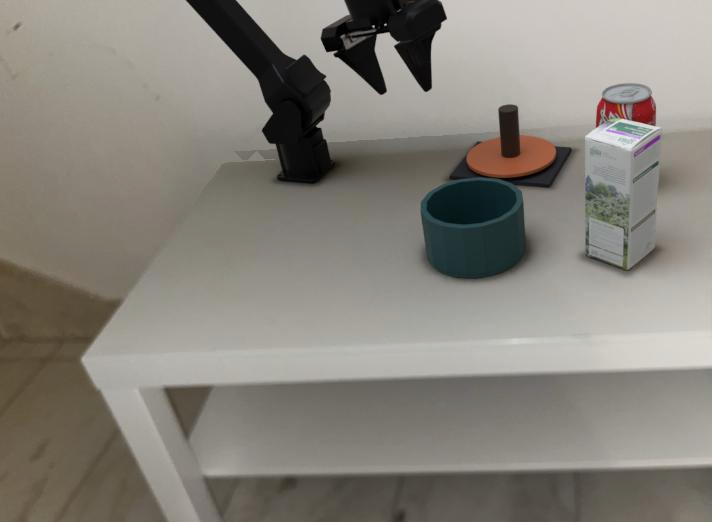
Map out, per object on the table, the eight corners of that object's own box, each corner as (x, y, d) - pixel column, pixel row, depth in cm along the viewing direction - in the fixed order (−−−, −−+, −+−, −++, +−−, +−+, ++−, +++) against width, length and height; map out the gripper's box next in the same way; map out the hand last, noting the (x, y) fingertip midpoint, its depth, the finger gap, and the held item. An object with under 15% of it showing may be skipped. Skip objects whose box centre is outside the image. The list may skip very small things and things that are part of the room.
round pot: (412, 271, 88) (404, 221, 84) (449, 221, 96) (443, 173, 92) (506, 284, 83) (503, 232, 79) (537, 231, 91) (535, 181, 87)
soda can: (584, 188, 98) (584, 97, 91) (614, 166, 102) (617, 77, 94) (632, 202, 94) (636, 107, 87) (662, 179, 98) (669, 86, 90)
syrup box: (656, 248, 85) (665, 124, 76) (626, 273, 82) (631, 147, 73) (613, 233, 89) (616, 113, 80) (582, 257, 86) (582, 134, 77)
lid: (483, 190, 100) (479, 135, 95) (456, 154, 109) (450, 102, 105) (570, 168, 102) (570, 113, 97) (535, 135, 111) (534, 83, 107)
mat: (449, 178, 105) (449, 175, 104) (477, 144, 112) (477, 141, 112) (549, 187, 99) (549, 183, 99) (571, 150, 107) (571, 147, 107)
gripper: (454, -73, 88) (496, 59, 96) (359, -45, 101) (403, 69, 109) (386, -36, 83) (436, 100, 91) (296, -11, 96) (347, 105, 104)
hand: (405, 92), depth 99 cm, fingers open, 9 cm apart
